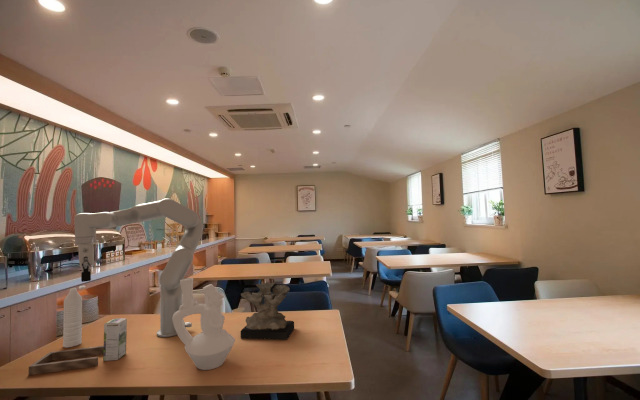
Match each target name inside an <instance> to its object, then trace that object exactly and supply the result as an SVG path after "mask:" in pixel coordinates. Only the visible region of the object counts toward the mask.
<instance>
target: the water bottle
mask: <svg viewBox="0 0 640 400" xmlns="http://www.w3.org/2000/svg"><path fill="white" fill-rule="evenodd" d="M86 287H87V286H86V285H80V286H78V289H79V290H81V289H85V288H86ZM78 289H77V287H73V288H72V287H71V288H70V289H69V292H68V294H67V295H66V296H65V297H64V299H63V319H62V320H63V326H62V327H63V332H62V333H63V334H62V340H63V341H62V347H63V348H65V349H66V348H73V347H77V346H79V345H81V344H82V343H83V341H82V340H83V338H82V335H83V329H82V327H83V320H82V319H83V297H82V295H81V294H80V293H79V292H78Z"/></svg>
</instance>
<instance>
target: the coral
mask: <svg viewBox="0 0 640 400" xmlns="http://www.w3.org/2000/svg"><path fill="white" fill-rule="evenodd" d="M255 286H256V287H257V288H258V289H259V291H260V292H250V291H244V292H242V293H240V296H241V297H242V298H243V299H245V300H247V301H248V302H249V303H251V304H252V305H254V306H255V307H256V309H257V312H254V313H253V314H252V315H251V316H246V318H245V323H246V325H245V326H244V327H243V328H242V329H241V330H240V331H239V332H240V339H241V340H242V339H244V340H267V341H268V340H269V341H272V340H273V341H288V339H290V336H291V334H292V333H293V332H294V330H295V321H294V320H286V316H285V315H284V314H283V313H282V312H279V311H278V306H280V305H281V304H282V302H283V301H284V300H285V298H286V297H287V294H288V293H289V292H290V291H291V290H290V287H289V286H288V285H285V284H276V282H275V281H274V282H272V283H271V282H264V283H257V284H255ZM271 290H272V291H271ZM262 300H263V302H264V303H262Z"/></svg>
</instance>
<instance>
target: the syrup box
mask: <svg viewBox="0 0 640 400" xmlns="http://www.w3.org/2000/svg"><path fill="white" fill-rule="evenodd" d="M127 325H128V318H122V317H120V318H119V317H118V318H112V319H111V320H109V321H107V322H105V323H104V325H103V346H104V350H103V354H102V355H103V359H102V360H103V361H104V362H106V361H108V362H109V361H117V360H120V359H121V358H122V357H123V356H125V355H127V336H128V335H127V330H128V328H127V327H128V326H127Z"/></svg>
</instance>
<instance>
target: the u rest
mask: <svg viewBox="0 0 640 400" xmlns="http://www.w3.org/2000/svg"><path fill="white" fill-rule="evenodd" d="M103 350H104V345H99V346H98V345H97V346H91V347H89V346H88V347H81V348H73V349H66V350H58V351H57V350H55V351H50V352H48V353H46V354H45V355H43V357H40V358H39V359H38V360H36V361H35V362H33V363H32V364H30V365H29V366H28V376H34V375H40V374H41V375H42V374H48V373H56V372H63V370H64V371H70V370H78V369H84V368H85V369H86V368H93V367H97V366H98V365H99V355H103ZM92 356H93V357H92ZM84 357H85V358H84ZM68 359H69V360H68ZM53 360H54V361H53ZM60 360H61V361H60Z"/></svg>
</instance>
